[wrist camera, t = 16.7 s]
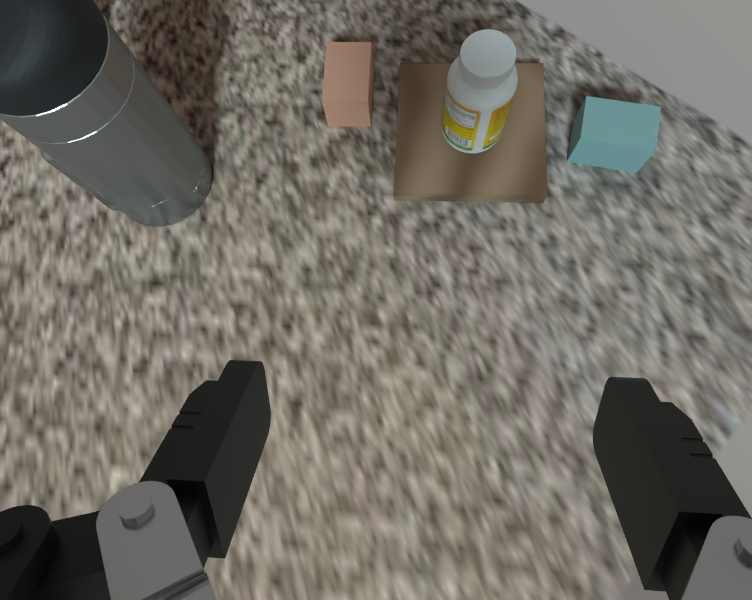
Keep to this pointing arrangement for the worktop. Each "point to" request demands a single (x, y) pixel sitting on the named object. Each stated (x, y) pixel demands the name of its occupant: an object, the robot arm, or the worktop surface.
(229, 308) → the worktop surface
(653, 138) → the teal block
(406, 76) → the walnut board
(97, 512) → the robot arm
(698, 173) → the worktop surface
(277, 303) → the worktop surface
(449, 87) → the supplement bottle
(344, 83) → the terracotta block
